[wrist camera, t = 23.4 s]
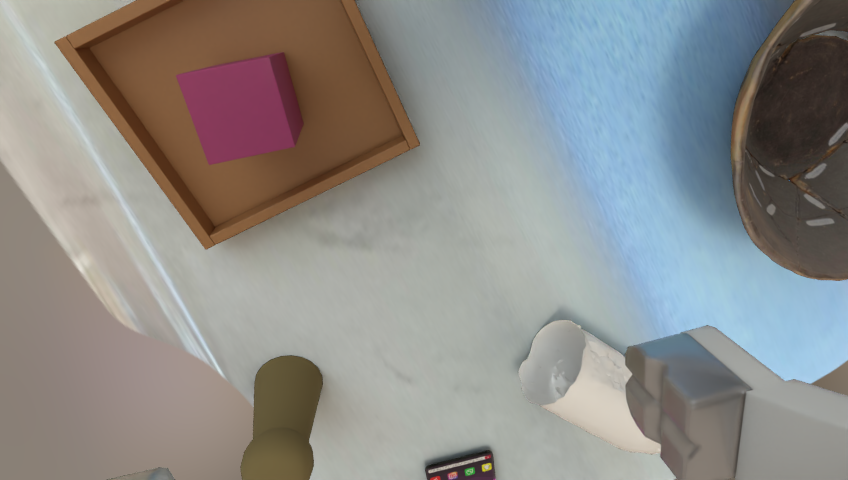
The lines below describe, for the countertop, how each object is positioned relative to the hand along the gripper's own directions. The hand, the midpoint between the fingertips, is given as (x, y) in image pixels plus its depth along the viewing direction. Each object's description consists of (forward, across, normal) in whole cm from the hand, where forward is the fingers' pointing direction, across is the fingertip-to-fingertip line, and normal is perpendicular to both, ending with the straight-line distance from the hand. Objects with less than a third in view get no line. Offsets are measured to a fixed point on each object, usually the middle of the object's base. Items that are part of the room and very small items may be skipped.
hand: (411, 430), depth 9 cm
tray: (+31, +6, -4) cm, 32 cm away
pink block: (+30, +6, -4) cm, 31 cm away
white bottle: (+31, -18, +28) cm, 46 cm away
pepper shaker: (+31, +11, +21) cm, 40 cm away
